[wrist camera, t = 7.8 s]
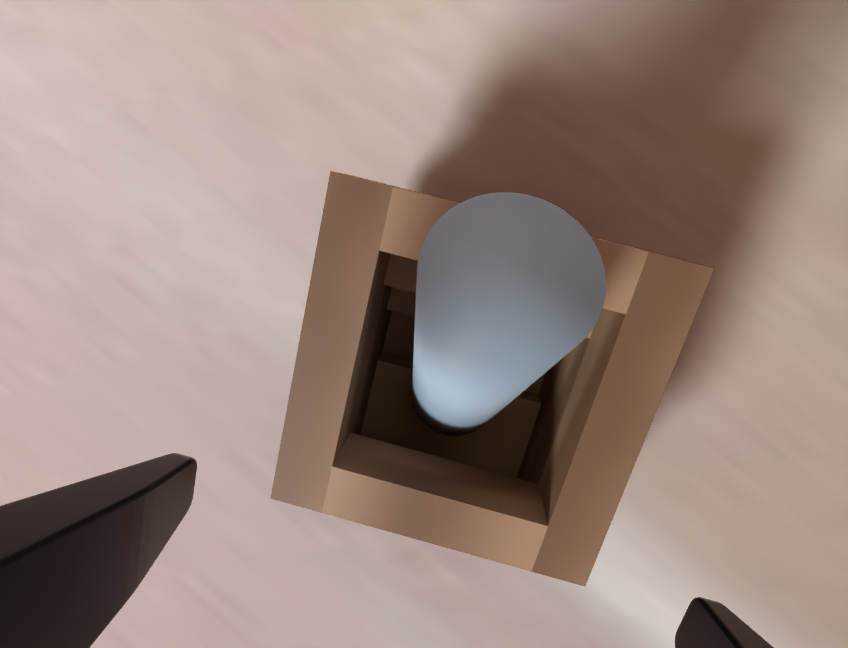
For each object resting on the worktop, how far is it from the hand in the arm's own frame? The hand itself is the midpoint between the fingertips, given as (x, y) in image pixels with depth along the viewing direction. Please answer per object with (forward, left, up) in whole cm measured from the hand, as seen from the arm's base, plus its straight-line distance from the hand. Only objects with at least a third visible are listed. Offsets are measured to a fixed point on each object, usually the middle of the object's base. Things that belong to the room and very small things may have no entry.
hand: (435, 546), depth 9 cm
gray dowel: (0, +1, -9) cm, 9 cm away
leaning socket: (0, 0, -10) cm, 10 cm away
